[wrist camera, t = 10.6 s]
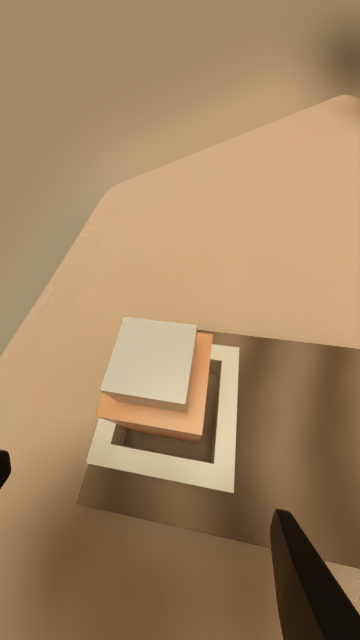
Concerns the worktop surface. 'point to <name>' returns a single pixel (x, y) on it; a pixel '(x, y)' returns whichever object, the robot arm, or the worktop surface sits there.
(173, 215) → the worktop surface
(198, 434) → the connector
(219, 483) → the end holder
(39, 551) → the worktop surface
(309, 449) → the board
